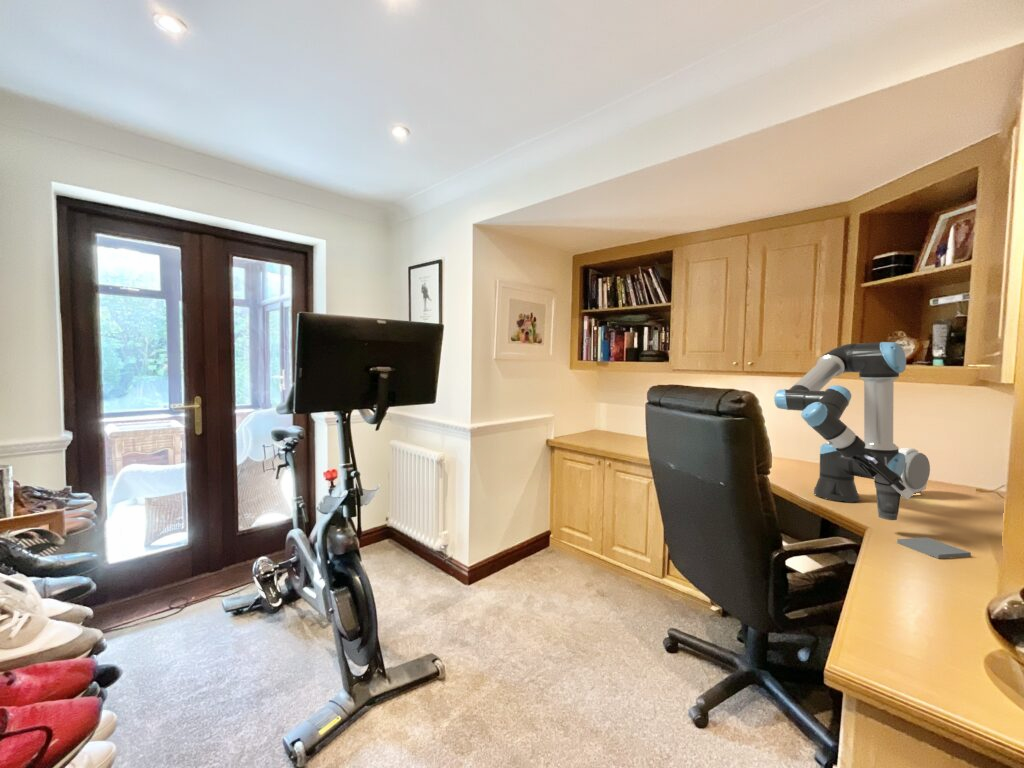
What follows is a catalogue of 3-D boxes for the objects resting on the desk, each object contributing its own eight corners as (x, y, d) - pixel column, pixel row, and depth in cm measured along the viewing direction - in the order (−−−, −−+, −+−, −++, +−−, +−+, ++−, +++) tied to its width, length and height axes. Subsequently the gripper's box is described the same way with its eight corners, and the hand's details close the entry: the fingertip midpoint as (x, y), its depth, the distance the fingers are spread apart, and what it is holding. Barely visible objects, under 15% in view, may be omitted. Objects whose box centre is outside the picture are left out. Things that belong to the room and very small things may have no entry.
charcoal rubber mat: (927, 541, 130) (927, 537, 130) (970, 556, 119) (970, 552, 119) (897, 543, 129) (897, 539, 129) (938, 558, 118) (938, 554, 118)
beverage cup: (892, 522, 132) (894, 460, 132) (867, 515, 139) (869, 455, 139) (908, 520, 134) (910, 459, 133) (883, 513, 141) (884, 454, 140)
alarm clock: (907, 490, 188) (908, 445, 188) (931, 495, 180) (933, 448, 180) (882, 493, 182) (883, 447, 181) (905, 499, 174) (907, 451, 174)
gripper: (820, 444, 149) (871, 491, 146) (854, 455, 129) (913, 510, 126) (837, 429, 148) (889, 477, 145) (874, 439, 128) (935, 494, 125)
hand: (900, 492), depth 136 cm, fingers closed on beverage cup, 7 cm apart
